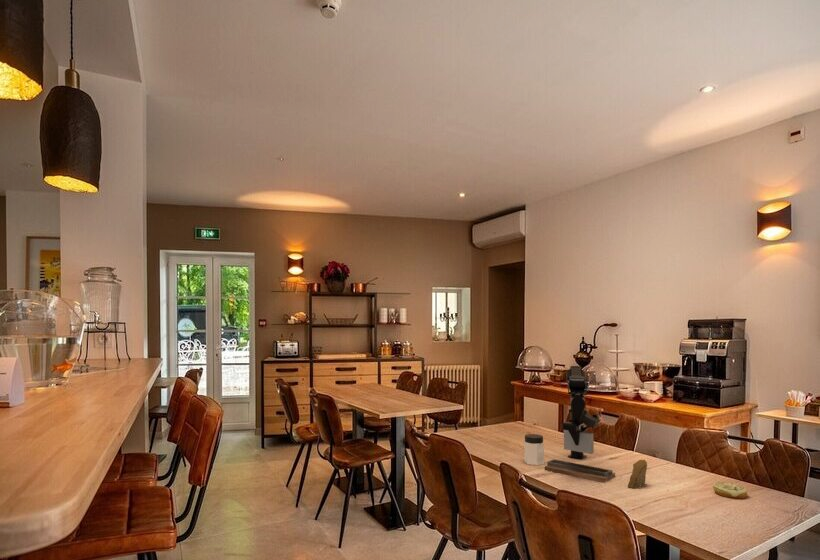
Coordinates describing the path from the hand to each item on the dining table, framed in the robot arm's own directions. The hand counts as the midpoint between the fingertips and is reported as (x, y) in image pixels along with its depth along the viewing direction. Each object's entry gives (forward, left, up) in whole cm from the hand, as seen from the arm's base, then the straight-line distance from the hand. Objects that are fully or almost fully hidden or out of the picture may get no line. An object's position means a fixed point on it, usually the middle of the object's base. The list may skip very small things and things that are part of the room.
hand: (578, 444), depth 220 cm
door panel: (0, 0, -3) cm, 3 cm away
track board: (0, 0, -12) cm, 12 cm away
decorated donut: (-12, +53, -12) cm, 56 cm away
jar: (-2, -22, -12) cm, 25 cm away
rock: (0, +23, -12) cm, 26 cm away
